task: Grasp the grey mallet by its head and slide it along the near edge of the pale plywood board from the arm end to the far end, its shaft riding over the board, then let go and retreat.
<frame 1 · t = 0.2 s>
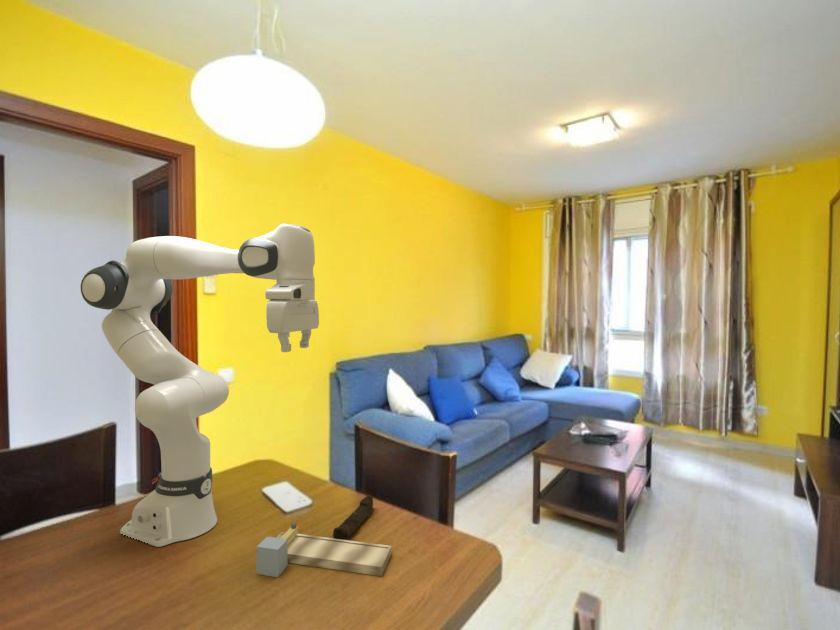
hand: (295, 349, 101), 47 cm above the table, fingers open, 8 cm apart
grey mallet: (272, 569, 92), on the table
rusty railroad spike: (355, 525, 111), on the table
board: (328, 556, 97), on the table
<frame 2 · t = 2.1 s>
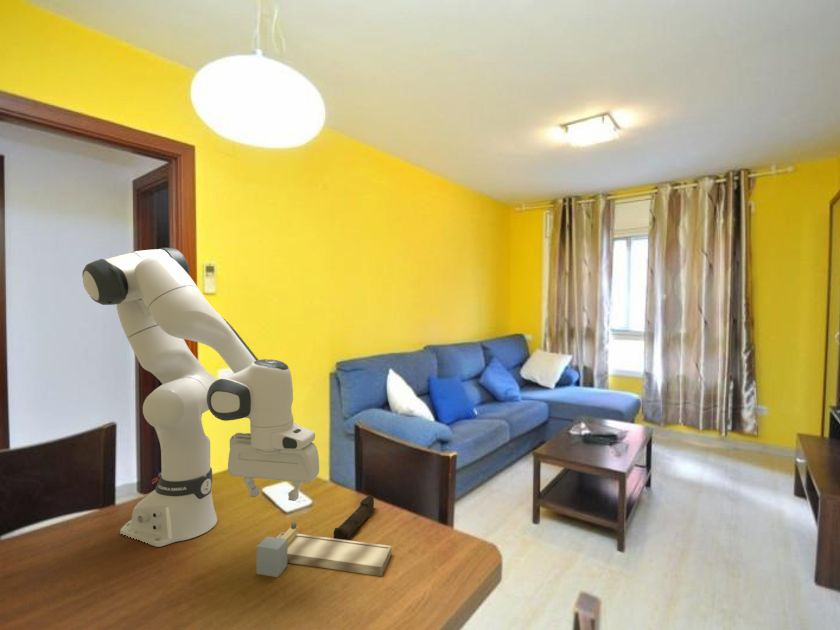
hand: (273, 497, 91), 16 cm above the table, fingers open, 8 cm apart
nothing on the table moved.
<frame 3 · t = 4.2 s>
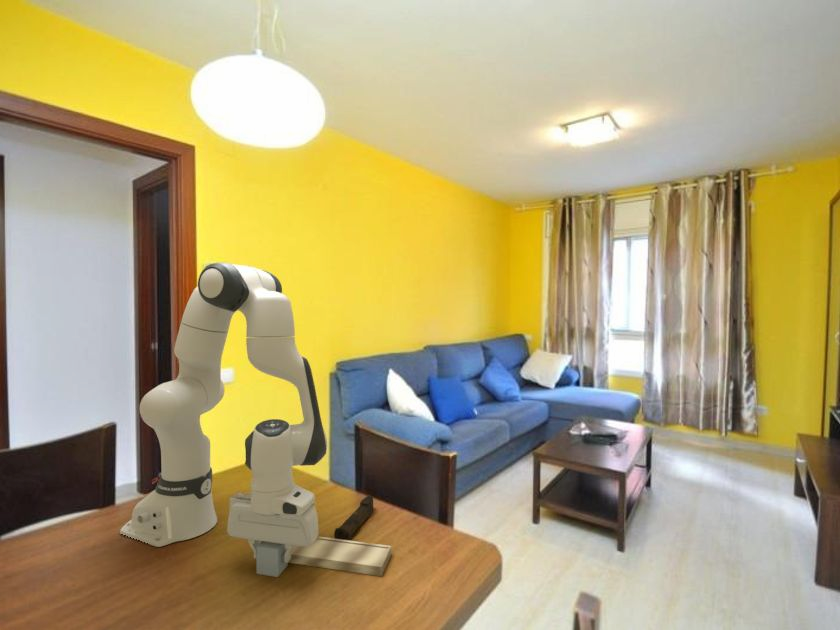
hand: (272, 559, 92), 2 cm above the table, fingers closed on grey mallet, 5 cm apart
grey mallet: (272, 569, 92), on the table, touching gripper
everything else where it was.
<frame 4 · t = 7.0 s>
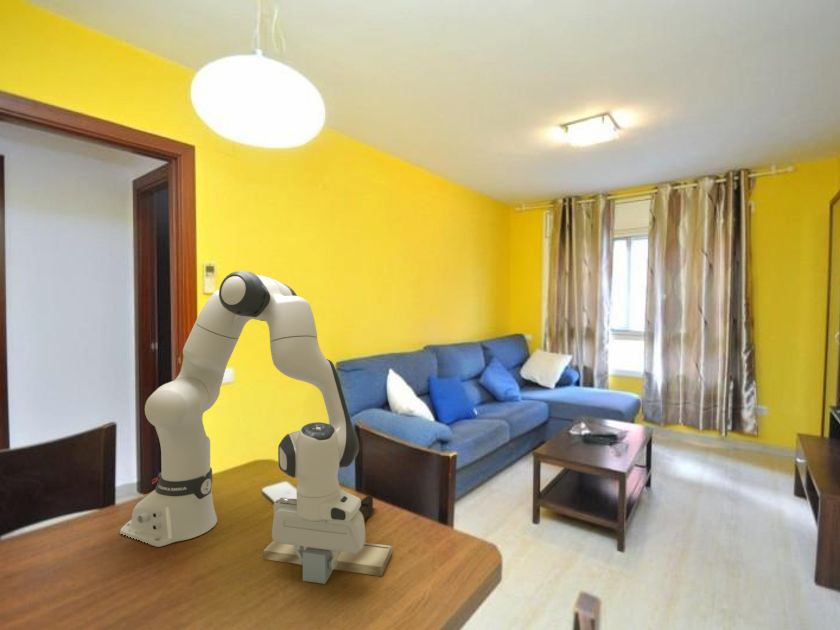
hand: (318, 565, 89), 2 cm above the table, fingers closed on grey mallet, 5 cm apart
grey mallet: (317, 576, 90), on the table, touching gripper
everything else where it was.
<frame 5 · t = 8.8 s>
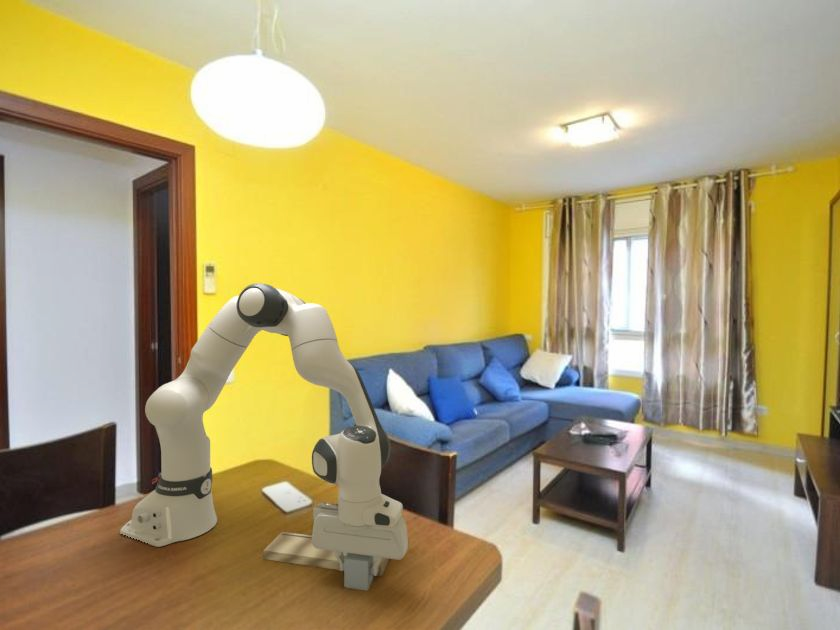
hand: (359, 571, 88), 2 cm above the table, fingers closed on grey mallet, 5 cm apart
grey mallet: (359, 582, 88), on the table, touching gripper
everything else where it was.
when the fingers open (2 cm above the table, at t = 9.8 s): grey mallet stays where it is, on the table.
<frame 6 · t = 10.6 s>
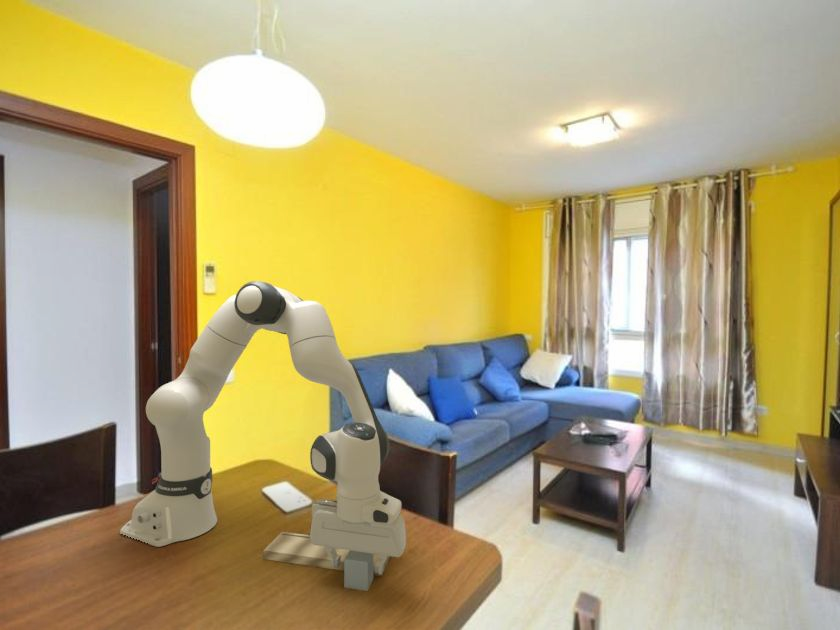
hand: (357, 568, 87), 3 cm above the table, fingers open, 8 cm apart
grey mallet: (359, 582, 88), on the table
everything else where it was.
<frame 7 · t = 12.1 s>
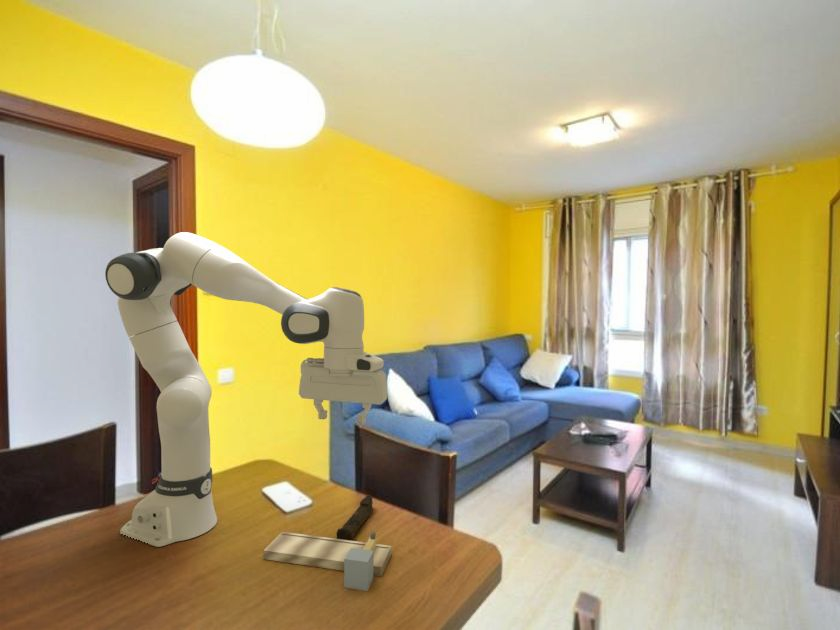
hand: (342, 420, 95), 32 cm above the table, fingers open, 8 cm apart
nothing on the table moved.
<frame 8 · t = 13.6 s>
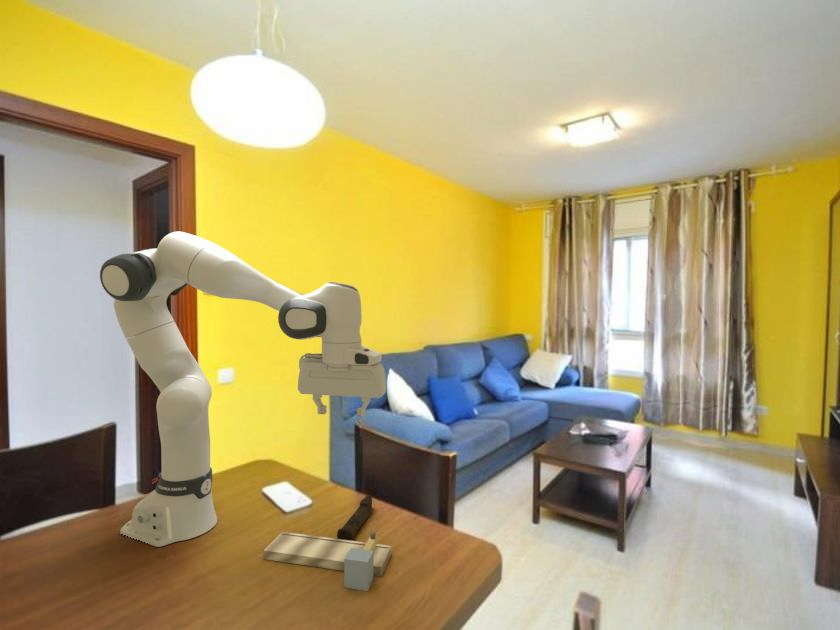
hand: (341, 415, 95), 33 cm above the table, fingers open, 8 cm apart
nothing on the table moved.
at the end: grey mallet inside the target area (0.6 cm from its centre), on the table; grey mallet tilted 0°; the gripper is holding nothing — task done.
